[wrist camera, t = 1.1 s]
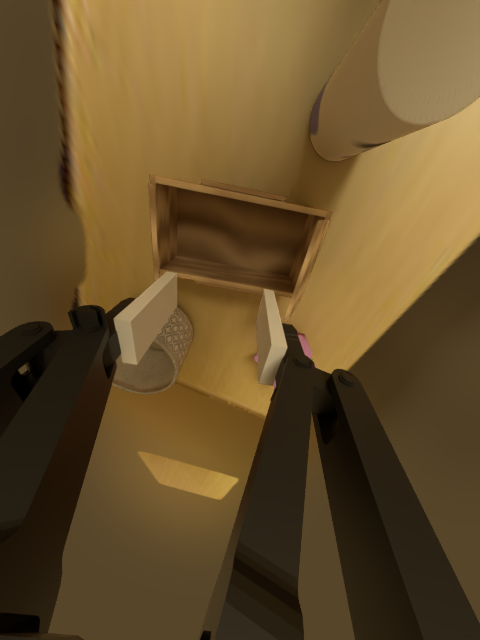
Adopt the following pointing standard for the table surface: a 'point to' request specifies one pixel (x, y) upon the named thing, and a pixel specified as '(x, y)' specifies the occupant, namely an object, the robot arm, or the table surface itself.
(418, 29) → the container
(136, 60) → the table surface
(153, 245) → the flap
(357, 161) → the table surface
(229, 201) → the carton
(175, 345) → the planter
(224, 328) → the table surface
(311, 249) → the flap
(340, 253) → the table surface
